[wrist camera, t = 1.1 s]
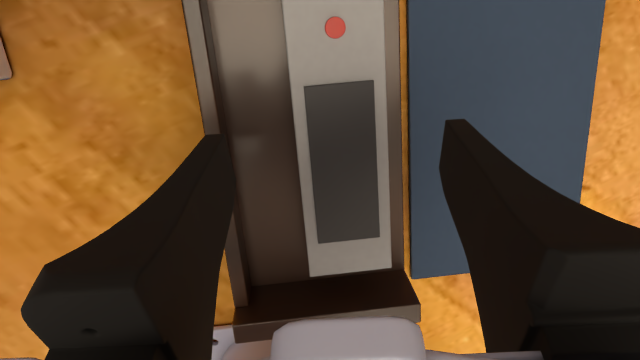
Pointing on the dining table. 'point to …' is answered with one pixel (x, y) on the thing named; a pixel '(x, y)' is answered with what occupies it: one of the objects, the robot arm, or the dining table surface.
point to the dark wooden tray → (283, 173)
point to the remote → (341, 131)
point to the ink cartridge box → (4, 64)
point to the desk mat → (496, 101)
